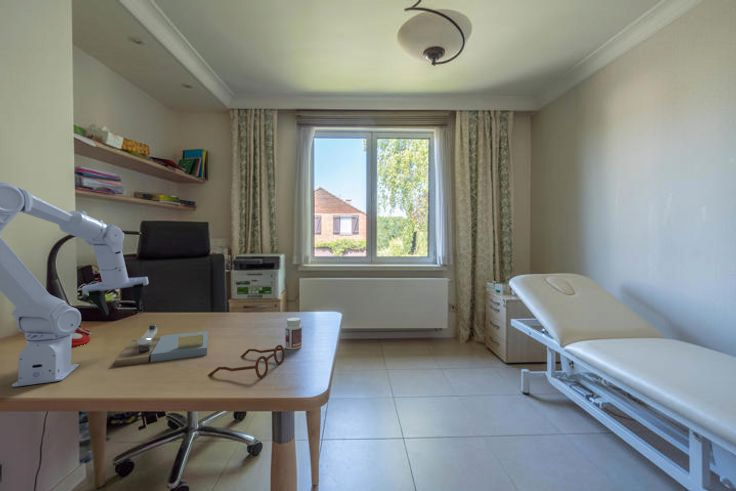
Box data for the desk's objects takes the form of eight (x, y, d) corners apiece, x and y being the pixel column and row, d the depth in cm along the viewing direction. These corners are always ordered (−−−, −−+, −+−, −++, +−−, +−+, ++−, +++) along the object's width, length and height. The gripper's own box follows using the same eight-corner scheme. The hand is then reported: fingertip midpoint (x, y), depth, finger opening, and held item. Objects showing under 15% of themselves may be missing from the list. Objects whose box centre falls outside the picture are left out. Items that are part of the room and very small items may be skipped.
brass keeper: (203, 345, 87) (203, 334, 87) (178, 348, 84) (178, 337, 84) (203, 341, 91) (203, 330, 91) (179, 343, 88) (179, 333, 88)
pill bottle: (303, 345, 95) (303, 317, 95) (298, 350, 90) (298, 321, 90) (288, 344, 95) (288, 317, 95) (282, 349, 90) (283, 320, 90)
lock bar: (150, 346, 82) (150, 337, 82) (135, 347, 81) (135, 338, 81) (159, 332, 95) (159, 324, 95) (147, 333, 94) (147, 325, 94)
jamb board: (148, 362, 79) (148, 351, 79) (115, 366, 76) (115, 355, 76) (160, 342, 96) (160, 333, 96) (133, 345, 93) (133, 335, 93)
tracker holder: (92, 342, 92) (45, 340, 86) (87, 356, 92) (40, 355, 86) (94, 324, 101) (52, 321, 95) (89, 337, 102) (47, 335, 95)
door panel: (206, 354, 85) (206, 347, 85) (150, 362, 80) (150, 354, 80) (208, 337, 101) (208, 331, 101) (161, 342, 96) (161, 335, 96)
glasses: (258, 383, 69) (259, 360, 69) (207, 377, 72) (207, 355, 72) (285, 361, 82) (286, 342, 82) (241, 357, 85) (241, 339, 85)
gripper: (146, 259, 93) (155, 301, 96) (83, 267, 87) (95, 311, 90) (141, 266, 87) (151, 310, 90) (74, 274, 81) (87, 322, 84)
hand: (123, 311), depth 90 cm, fingers open, 7 cm apart
